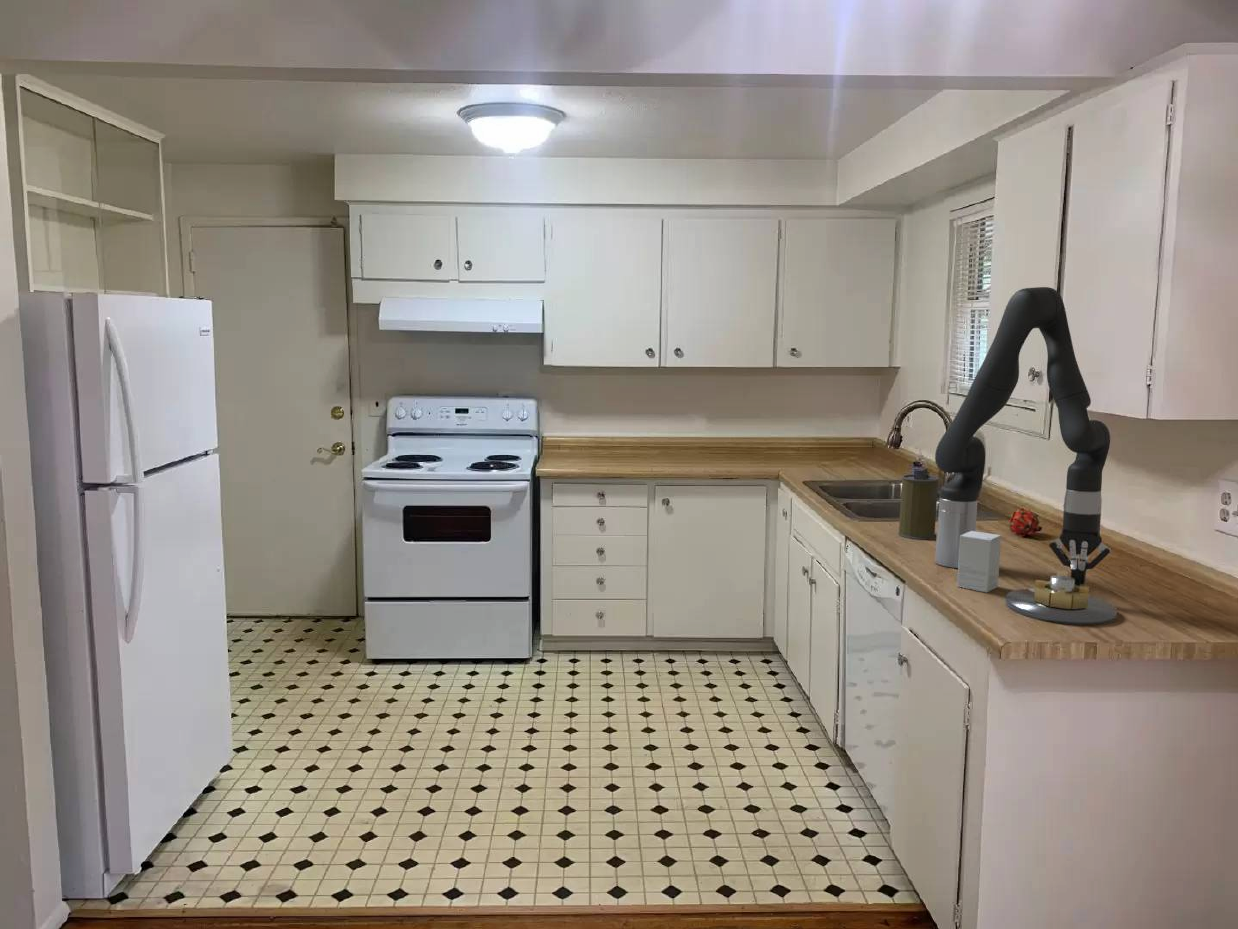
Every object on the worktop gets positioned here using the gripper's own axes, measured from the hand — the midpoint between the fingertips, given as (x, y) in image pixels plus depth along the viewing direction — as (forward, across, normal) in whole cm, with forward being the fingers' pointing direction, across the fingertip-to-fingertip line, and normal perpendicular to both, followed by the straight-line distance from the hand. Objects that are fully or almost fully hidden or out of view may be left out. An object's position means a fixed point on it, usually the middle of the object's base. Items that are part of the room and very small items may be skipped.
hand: (1077, 585), depth 211 cm
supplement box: (+3, +21, +3) cm, 21 cm away
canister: (+2, +51, -43) cm, 66 cm away
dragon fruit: (+3, +26, -64) cm, 69 cm away
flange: (+4, +2, +10) cm, 11 cm away
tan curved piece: (+2, +2, +7) cm, 7 cm away
